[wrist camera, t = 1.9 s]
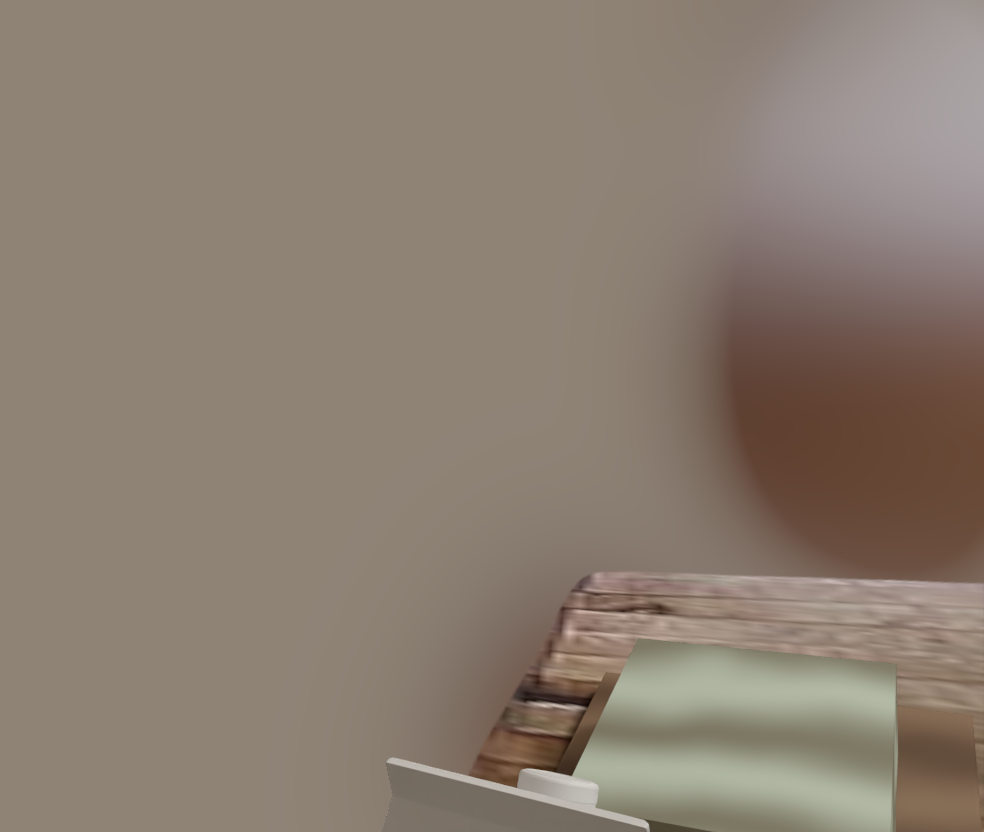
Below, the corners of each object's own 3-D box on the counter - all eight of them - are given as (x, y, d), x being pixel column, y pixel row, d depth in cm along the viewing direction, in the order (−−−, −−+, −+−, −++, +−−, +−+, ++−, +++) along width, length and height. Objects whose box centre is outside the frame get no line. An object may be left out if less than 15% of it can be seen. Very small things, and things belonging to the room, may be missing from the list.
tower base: (607, 689, 57) (596, 600, 55) (972, 734, 48) (973, 632, 46) (474, 962, 40) (450, 847, 38) (1001, 1106, 31) (1005, 968, 29)
